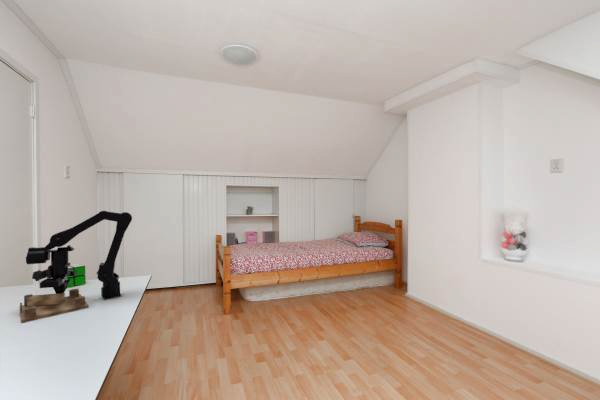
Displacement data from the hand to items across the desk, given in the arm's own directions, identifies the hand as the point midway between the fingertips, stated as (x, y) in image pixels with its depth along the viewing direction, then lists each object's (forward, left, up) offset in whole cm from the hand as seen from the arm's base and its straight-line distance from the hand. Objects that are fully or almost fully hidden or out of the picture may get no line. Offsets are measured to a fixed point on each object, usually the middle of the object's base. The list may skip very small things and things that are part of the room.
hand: (59, 298), depth 123 cm
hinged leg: (+5, 0, -1) cm, 5 cm away
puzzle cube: (-8, -33, -3) cm, 34 cm away
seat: (+2, +4, -3) cm, 6 cm away
